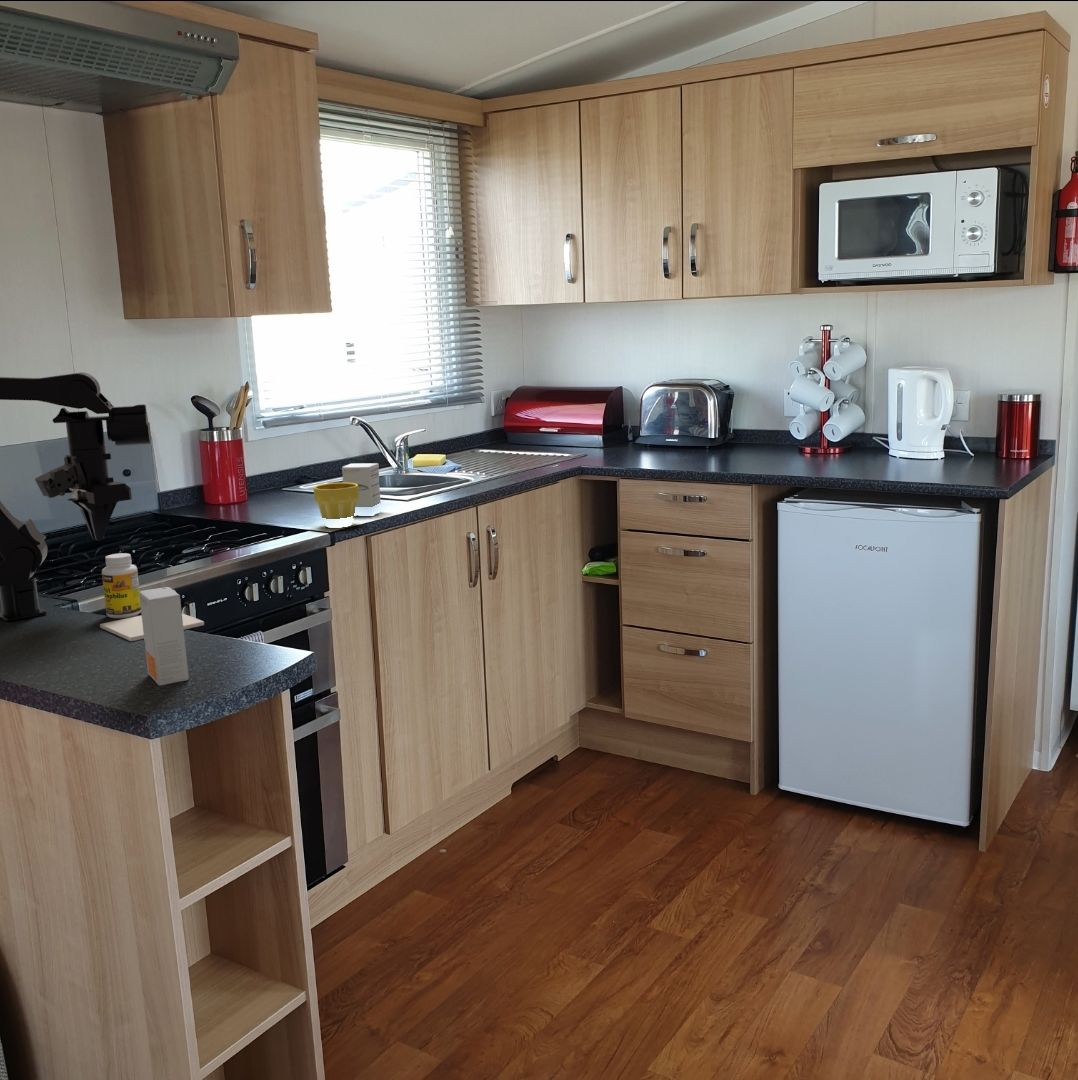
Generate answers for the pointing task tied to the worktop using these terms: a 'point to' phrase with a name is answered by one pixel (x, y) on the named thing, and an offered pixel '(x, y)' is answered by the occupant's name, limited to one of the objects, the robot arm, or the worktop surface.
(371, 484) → the supplement box
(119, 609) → the supplement bottle
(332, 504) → the plant pot
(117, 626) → the mat
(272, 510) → the worktop surface
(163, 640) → the skincare box
